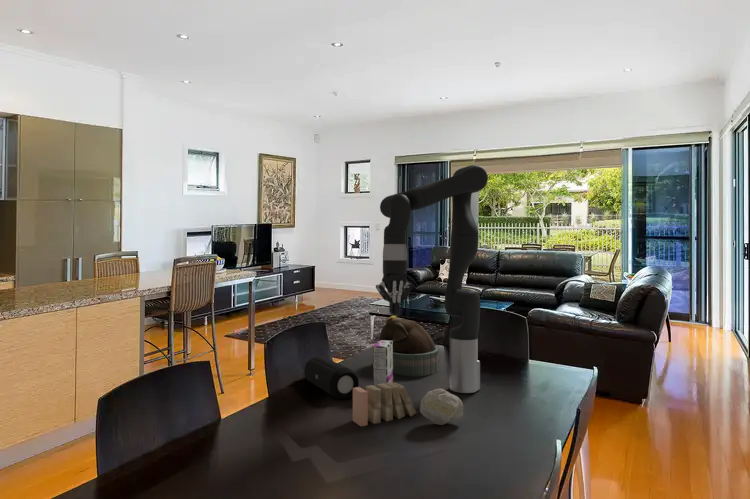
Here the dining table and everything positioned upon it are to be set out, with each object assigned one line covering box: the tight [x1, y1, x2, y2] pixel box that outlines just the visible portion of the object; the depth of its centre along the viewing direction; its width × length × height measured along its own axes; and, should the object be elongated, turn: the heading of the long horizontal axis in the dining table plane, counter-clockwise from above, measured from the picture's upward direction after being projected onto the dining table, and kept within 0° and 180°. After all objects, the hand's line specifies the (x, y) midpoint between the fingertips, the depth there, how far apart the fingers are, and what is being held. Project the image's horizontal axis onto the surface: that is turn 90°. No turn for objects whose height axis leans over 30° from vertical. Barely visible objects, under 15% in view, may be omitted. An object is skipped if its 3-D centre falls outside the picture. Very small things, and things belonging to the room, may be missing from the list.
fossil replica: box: [419, 388, 465, 426], centre depth 130 cm, size 12×8×10 cm
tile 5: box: [352, 386, 369, 427], centre depth 132 cm, size 2×5×9 cm, turn 29°
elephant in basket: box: [379, 315, 441, 377], centre depth 187 cm, size 23×25×22 cm
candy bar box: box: [372, 340, 394, 387], centre depth 161 cm, size 11×5×16 cm, turn 168°
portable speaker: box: [303, 355, 360, 400], centre depth 163 cm, size 26×10×10 cm, turn 30°
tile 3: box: [376, 383, 394, 422], centre depth 136 cm, size 2×5×9 cm, turn 29°
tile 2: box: [385, 382, 406, 420], centre depth 138 cm, size 2×5×9 cm, turn 29°
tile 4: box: [365, 384, 382, 425], centre depth 134 cm, size 2×5×9 cm, turn 29°
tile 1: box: [393, 381, 417, 417], centre depth 139 cm, size 2×5×9 cm, turn 29°
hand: (394, 314), depth 152 cm, fingers closed
